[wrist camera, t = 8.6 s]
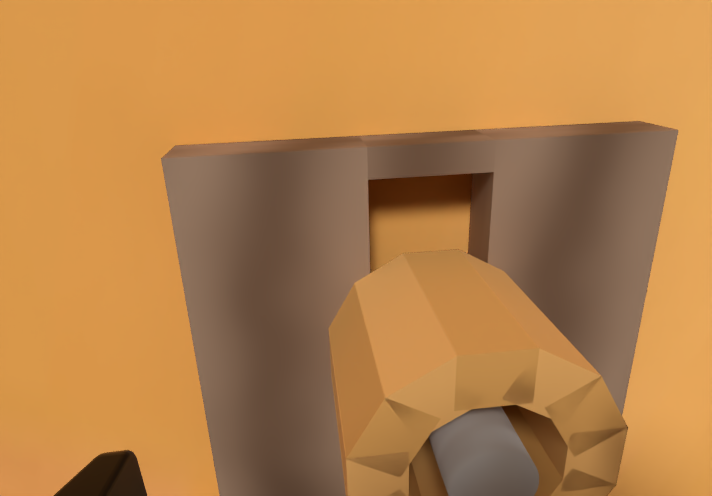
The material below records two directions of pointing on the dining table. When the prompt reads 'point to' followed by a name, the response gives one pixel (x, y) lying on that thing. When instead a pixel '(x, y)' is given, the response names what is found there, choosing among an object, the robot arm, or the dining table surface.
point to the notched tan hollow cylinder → (462, 378)
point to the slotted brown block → (352, 262)
